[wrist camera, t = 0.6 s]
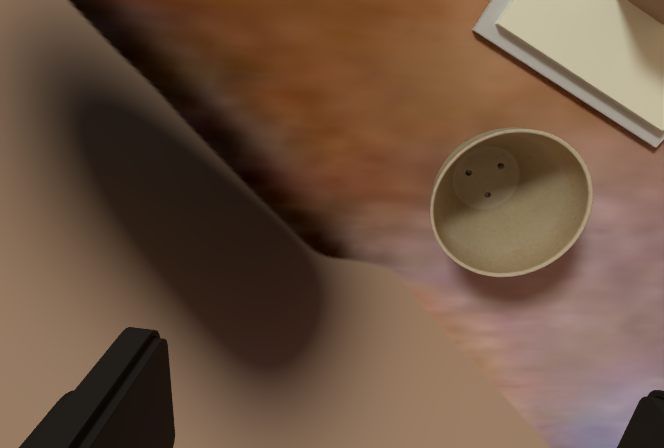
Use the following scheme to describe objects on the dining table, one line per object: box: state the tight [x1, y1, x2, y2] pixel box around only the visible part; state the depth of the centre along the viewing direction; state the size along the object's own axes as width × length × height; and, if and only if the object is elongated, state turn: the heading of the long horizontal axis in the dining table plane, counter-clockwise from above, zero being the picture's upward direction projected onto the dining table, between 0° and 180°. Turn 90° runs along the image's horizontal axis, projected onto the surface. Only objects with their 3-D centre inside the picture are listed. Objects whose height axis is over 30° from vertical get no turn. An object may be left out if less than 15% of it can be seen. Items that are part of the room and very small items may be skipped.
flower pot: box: [430, 128, 593, 277], centre depth 32 cm, size 10×10×7 cm
